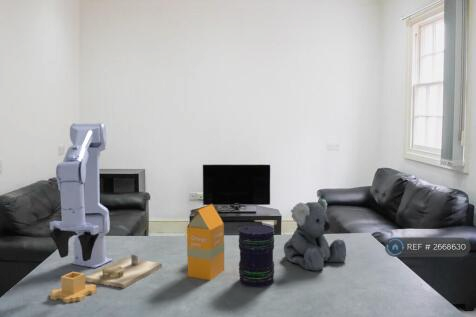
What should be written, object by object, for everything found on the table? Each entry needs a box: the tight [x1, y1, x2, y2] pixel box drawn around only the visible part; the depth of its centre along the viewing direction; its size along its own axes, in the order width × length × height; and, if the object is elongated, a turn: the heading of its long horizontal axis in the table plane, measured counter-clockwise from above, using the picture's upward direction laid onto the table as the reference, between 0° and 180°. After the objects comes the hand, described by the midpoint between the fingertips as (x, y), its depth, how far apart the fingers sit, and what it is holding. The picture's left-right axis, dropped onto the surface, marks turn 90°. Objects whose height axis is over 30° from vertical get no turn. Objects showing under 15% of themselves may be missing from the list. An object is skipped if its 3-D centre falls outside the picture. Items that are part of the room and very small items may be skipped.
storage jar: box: [238, 224, 275, 289], centre depth 126 cm, size 10×10×15 cm
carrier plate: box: [85, 253, 162, 289], centre depth 133 cm, size 14×18×4 cm
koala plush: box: [283, 198, 347, 272], centre depth 142 cm, size 17×18×20 cm
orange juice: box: [186, 203, 225, 281], centre depth 132 cm, size 8×9×20 cm
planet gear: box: [49, 271, 98, 304], centre depth 119 cm, size 10×10×5 cm
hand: (75, 258), depth 118 cm, fingers open, 7 cm apart
